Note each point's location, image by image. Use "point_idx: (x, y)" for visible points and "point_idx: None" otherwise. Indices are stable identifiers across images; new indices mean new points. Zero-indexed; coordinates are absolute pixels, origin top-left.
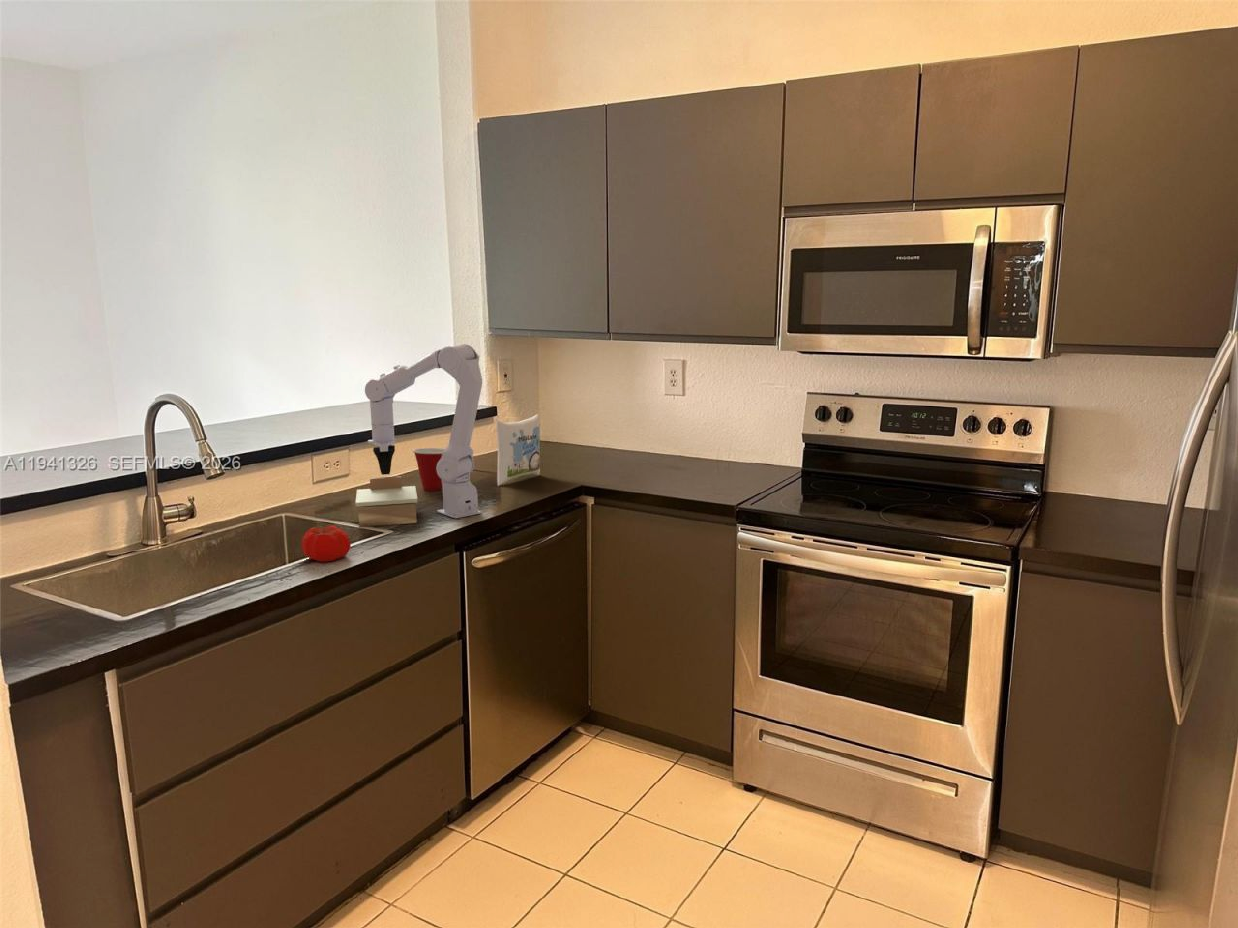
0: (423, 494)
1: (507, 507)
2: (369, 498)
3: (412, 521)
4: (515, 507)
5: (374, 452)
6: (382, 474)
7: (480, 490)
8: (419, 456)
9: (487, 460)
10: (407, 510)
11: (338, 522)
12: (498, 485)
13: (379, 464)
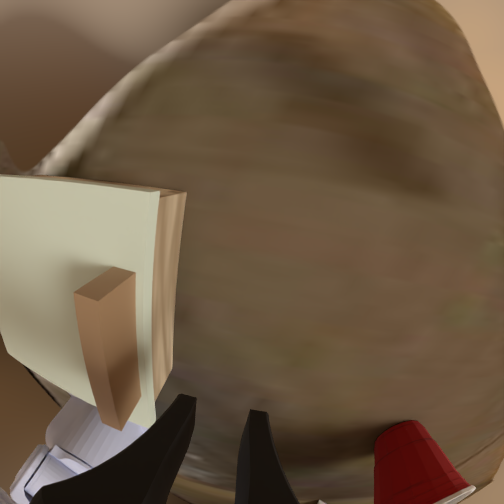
0: (357, 420)
1: None
2: (2, 229)
3: None
4: None
5: (37, 493)
6: (179, 396)
7: (306, 486)
8: (419, 500)
9: (481, 466)
10: None
11: (100, 109)
12: (319, 500)
13: (137, 440)
